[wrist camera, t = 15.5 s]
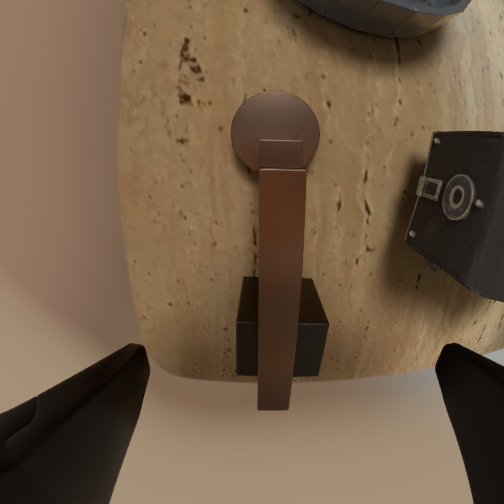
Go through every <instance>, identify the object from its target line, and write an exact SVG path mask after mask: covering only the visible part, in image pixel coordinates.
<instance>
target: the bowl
mask: <svg viewBox="0 0 504 504" xmlns="http://www.w3.org/2000/svg"><path fill="white" fill-rule="evenodd" d="M297 1H299V2H301V3H303V4H304V5H306V6H308V7H309V8H311V9H312V10H314V11H316V12H317V13H319V14H320V15H322V16H324V17H326V18H329V19H331V20H334V21H336V22H338V23H341V24H343V25H345V26H348V27H350V28H352V29H354V30H359V31H363V32H368V33H372V34H376V35H380V36H384V37H407V38H413V37H416V36H419V35H422V34H424V33H427V32H430V31H432V30H433V29H435V28H437V27H438V26H440V25H441V24H443V23H445V22H446V21H448V20H450V19H451V18H453V17H455V16H456V15H458V14H460V13H462V12H463V11H464V10H465V8H466V7H467V6H468V4H469V3H470V1H471V0H297Z"/></svg>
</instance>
